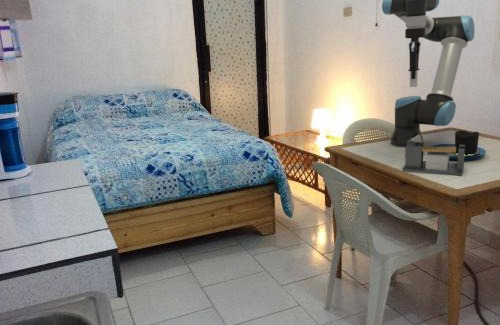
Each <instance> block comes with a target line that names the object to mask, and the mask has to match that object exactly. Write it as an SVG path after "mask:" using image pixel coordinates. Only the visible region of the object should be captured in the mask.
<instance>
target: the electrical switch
mask: <svg viewBox="0 0 500 325" xmlns="http://www.w3.org/2000/svg"><path fill="white" fill-rule="evenodd" d="M409 141H410V142H422V139H421V136H420V135H417V136H416V137H414V138H411V139H409V140H408V141H407V142H406V143H407V144H408V142H409ZM425 154H426V152H423V156H424V155H425Z"/></svg>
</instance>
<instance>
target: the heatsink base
mask: <svg viewBox="0 0 500 325" xmlns="http://www.w3.org/2000/svg"><path fill="white" fill-rule="evenodd" d="M424 145H425V142H424V141H423V142H410V141H409V142H408V144H407V145H406V147H405V155H404V156H405V159H404V161H405V163H404V167H403V168H402V172H405V173H418V174H419V173H421V174H432V175H442V176H443V175H444V176H445V175H446V176H459V177H463V173H464V167H465V157H464V153H465V145H459V150H458V156H457V162H450V154H451V152H426V156H425V157H426V158H425V160H424V155H423V152H422V147H425V146H424Z"/></svg>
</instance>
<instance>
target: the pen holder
mask: <svg viewBox="0 0 500 325" xmlns="http://www.w3.org/2000/svg"><path fill="white" fill-rule="evenodd" d="M479 137H480V132H479V131H472V132H470V131H467V130H463V129H462V130H456V131H455V132H454V147H456V152H454V154H455V153H458V150H459V145H465V153H464V154H465V155H468V154H475V153H477V152H478V146H479V145H478V144H479Z"/></svg>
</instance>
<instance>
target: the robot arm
mask: <svg viewBox="0 0 500 325" xmlns="http://www.w3.org/2000/svg"><path fill="white" fill-rule="evenodd" d="M439 3H440V0H382V3H381V4H382V5H381V10H382V13H383V14H384V15H389V16H390V15H394V16H395V17H397V18H398V19H400V20H402V21H403V23H405V28H406V29H404V30H405V32H404V33H405V34H404V37H405V39H410V42H409V43H408V50H409V51H408V52H409V69H408V72H409V88H417V87H418V71H420V68H419V62H420V60H419V59H420V50H421V49H420V47H421V42H420V38H422V39H425V40H427V41H430V42H434V43H440V44H441V46H442V50H441V52H440V56H439V61H438V66H437V69H436V72H435V75H434V80H433V84H432V88H431V92H430V93H427V95H426V98H425V99H422V97H421V96H420V95H410V96H409V95H408V96H403V97H400V98H397V99H396V100H395V103H394V128H393V131H392V132H393V133H392V135H391V137H390V144H391V145H392V146H395V147H399V148H406V145H407V143H406V142H407V141H408V140H409V139H411V138H414V137H416V136H417V135H420V136H421V139H422V142H424V138H423V135H422V132H421V126H420V125H426V126H428V125H429V126H435V127H446V126H448V125H449V124H451V122H452V121H453V119H454V117H455V115H456V108H457V107H456V106H457V105H456V102H455V101H454V98H453V97H452V92H453V87H454V85H455V84H454V83H455V80H456V75H457V72H458V68H459V64H460V61H461V60H460V59H461V56H462V52H463V49H465V48H466V47H467V46H468V43H469V42H471V41H473V40H474V39H475V38H474V37H475V23H474V22H475V21H474V18H473V17H472V15H456V16H441V17H439V16H437V17H432V16H430V15H427V12H431V11H434V10H435V9H437V8H438V6H439Z"/></svg>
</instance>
